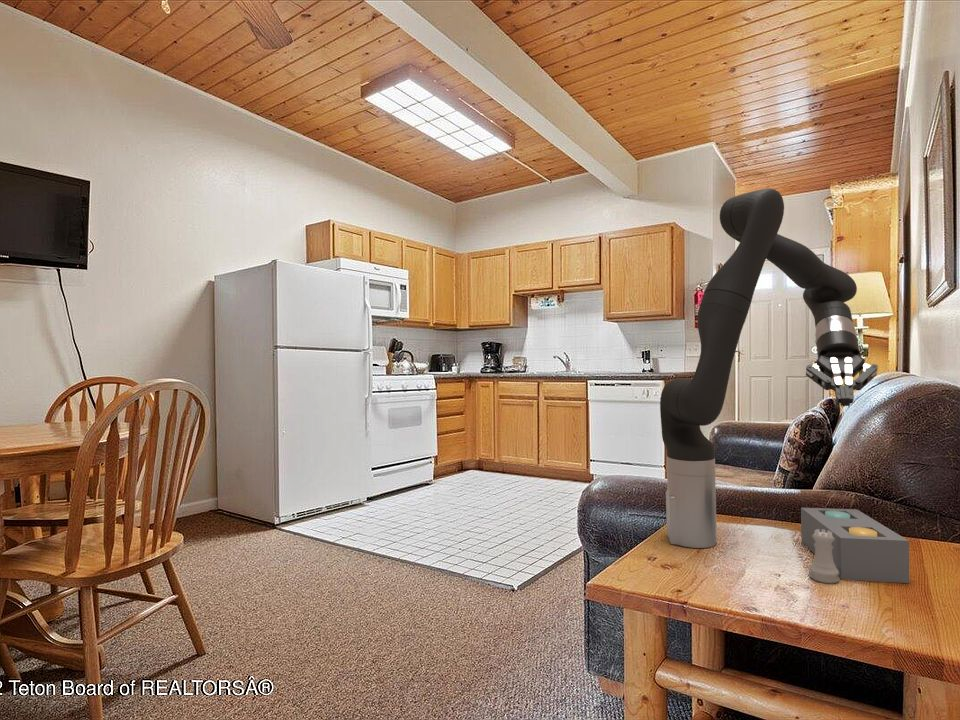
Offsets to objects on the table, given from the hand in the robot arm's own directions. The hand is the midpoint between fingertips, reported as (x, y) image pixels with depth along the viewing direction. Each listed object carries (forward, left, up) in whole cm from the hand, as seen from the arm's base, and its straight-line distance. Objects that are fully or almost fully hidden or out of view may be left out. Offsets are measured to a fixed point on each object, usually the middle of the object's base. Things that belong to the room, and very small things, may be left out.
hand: (845, 403), depth 106 cm
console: (-3, -9, -28) cm, 29 cm away
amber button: (-3, -14, -24) cm, 28 cm away
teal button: (-3, -4, -24) cm, 25 cm away
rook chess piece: (-11, -18, -28) cm, 35 cm away
